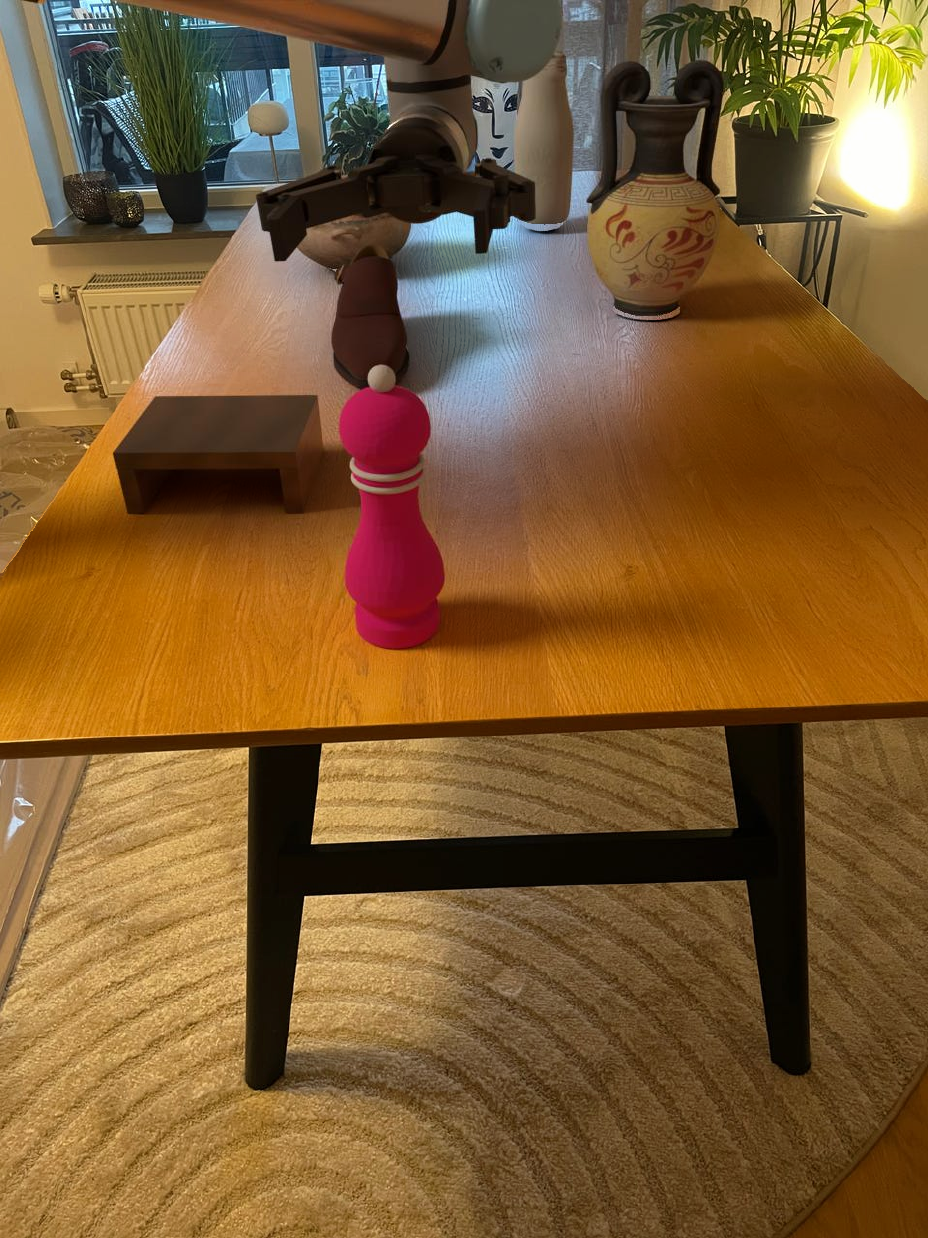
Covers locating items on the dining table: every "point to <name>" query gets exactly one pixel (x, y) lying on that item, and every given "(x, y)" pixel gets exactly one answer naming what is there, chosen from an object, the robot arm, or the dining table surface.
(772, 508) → the dining table surface
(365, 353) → the dress shoe
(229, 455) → the shelf
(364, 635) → the pepper mill
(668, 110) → the amphora
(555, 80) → the tan bottle
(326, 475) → the dining table surface
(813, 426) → the dining table surface
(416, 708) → the dining table surface
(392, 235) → the cooking pot
